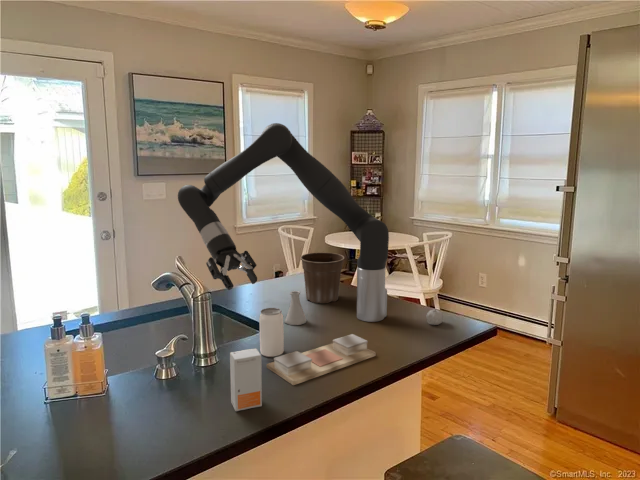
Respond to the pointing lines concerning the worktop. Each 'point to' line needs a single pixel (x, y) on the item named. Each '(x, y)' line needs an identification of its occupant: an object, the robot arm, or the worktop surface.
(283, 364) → the tray with two blocks
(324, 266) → the plant pot
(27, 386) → the worktop surface
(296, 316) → the flask
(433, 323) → the garlic
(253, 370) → the skincare box
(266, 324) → the can
